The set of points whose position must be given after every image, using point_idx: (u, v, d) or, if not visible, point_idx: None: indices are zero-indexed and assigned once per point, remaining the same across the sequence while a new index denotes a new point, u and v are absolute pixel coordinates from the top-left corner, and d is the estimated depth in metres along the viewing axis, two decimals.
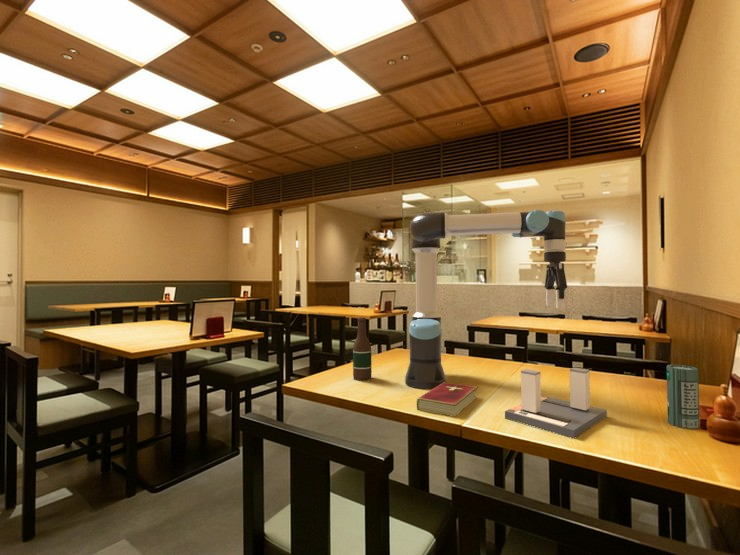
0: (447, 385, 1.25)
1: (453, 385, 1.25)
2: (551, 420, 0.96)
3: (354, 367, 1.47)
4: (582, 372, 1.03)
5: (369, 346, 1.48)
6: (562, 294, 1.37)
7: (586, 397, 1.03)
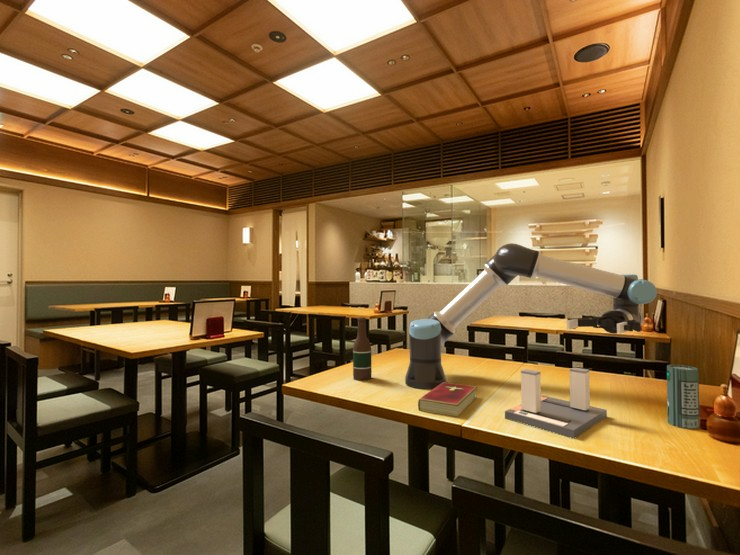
0: (447, 385, 1.25)
1: (453, 385, 1.25)
2: (551, 420, 0.96)
3: (354, 367, 1.47)
4: (582, 372, 1.03)
5: (369, 346, 1.48)
6: (630, 328, 1.09)
7: (586, 397, 1.03)
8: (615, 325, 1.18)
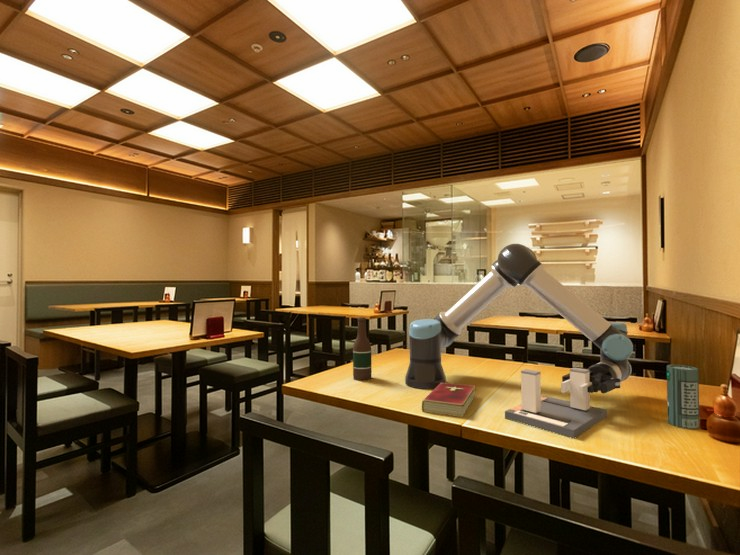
0: (446, 385, 1.25)
1: (452, 385, 1.25)
2: (551, 420, 0.96)
3: (354, 367, 1.47)
4: (582, 372, 1.03)
5: (369, 346, 1.48)
6: (594, 389, 1.02)
7: (586, 397, 1.03)
8: None
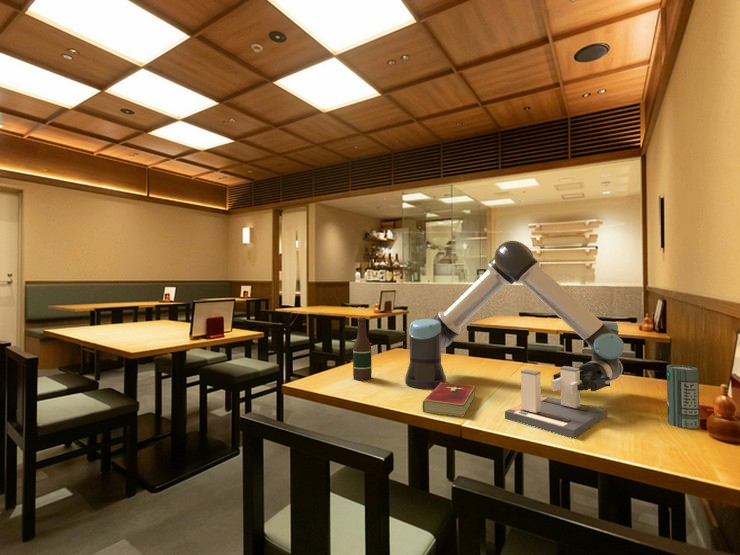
0: (446, 385, 1.25)
1: (451, 385, 1.25)
2: (551, 420, 0.96)
3: (354, 367, 1.47)
4: (572, 370, 1.05)
5: (369, 346, 1.48)
6: (584, 387, 1.04)
7: (576, 395, 1.05)
8: None
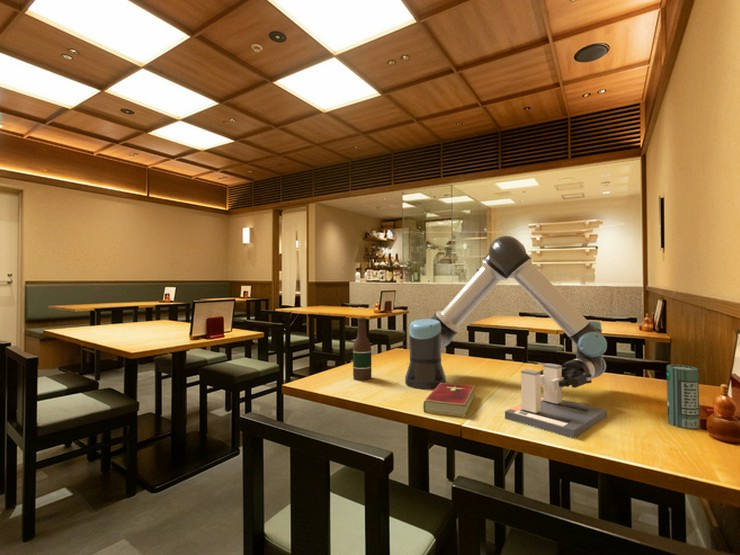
0: (445, 385, 1.25)
1: (451, 385, 1.25)
2: (551, 420, 0.96)
3: (354, 367, 1.47)
4: (554, 367, 1.09)
5: (369, 346, 1.48)
6: (565, 384, 1.08)
7: (558, 391, 1.09)
8: None
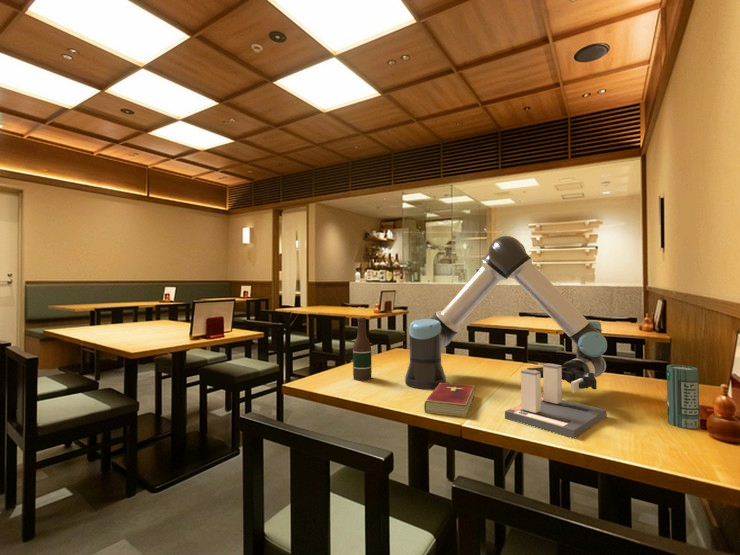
0: (445, 385, 1.25)
1: (451, 385, 1.25)
2: (551, 420, 0.96)
3: (354, 367, 1.47)
4: (554, 367, 1.09)
5: (369, 346, 1.48)
6: (585, 385, 1.06)
7: (558, 391, 1.09)
8: (574, 378, 1.15)
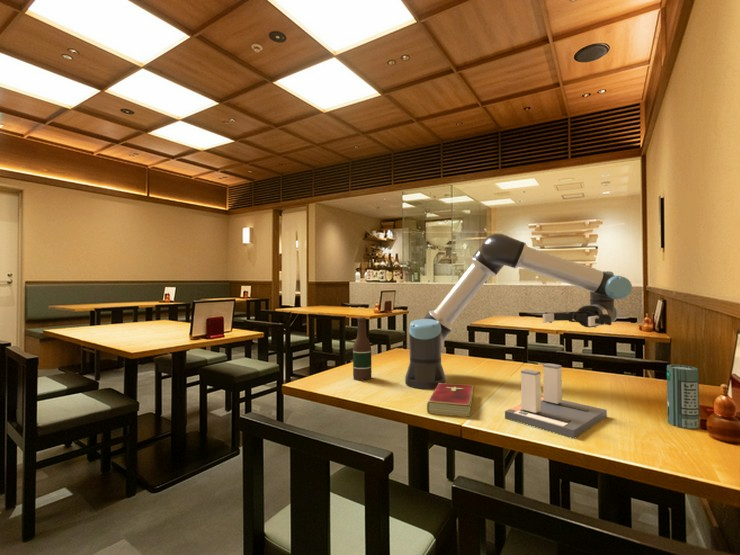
0: (445, 386, 1.25)
1: (450, 385, 1.25)
2: (551, 420, 0.96)
3: (354, 367, 1.47)
4: (554, 367, 1.09)
5: (369, 346, 1.48)
6: (601, 321, 1.15)
7: (558, 391, 1.09)
8: None
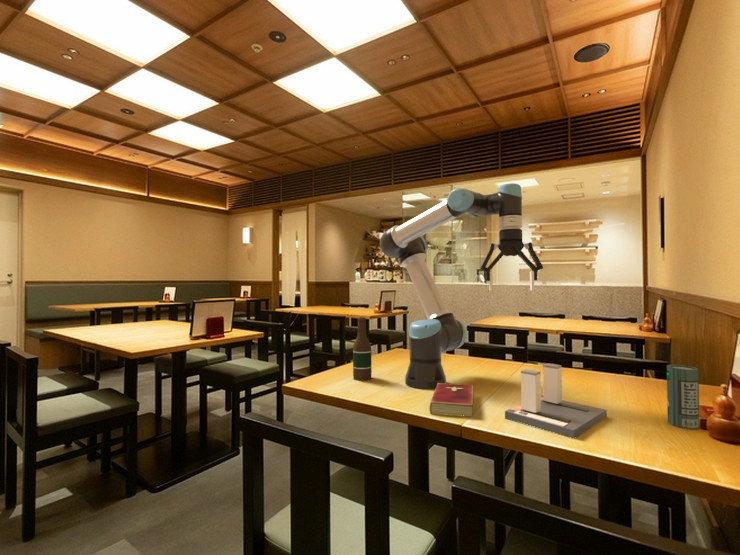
0: (444, 386, 1.25)
1: (450, 385, 1.25)
2: (551, 420, 0.96)
3: (354, 367, 1.47)
4: (554, 367, 1.09)
5: (369, 346, 1.48)
6: (486, 276, 1.32)
7: (558, 391, 1.09)
8: None
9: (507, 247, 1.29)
